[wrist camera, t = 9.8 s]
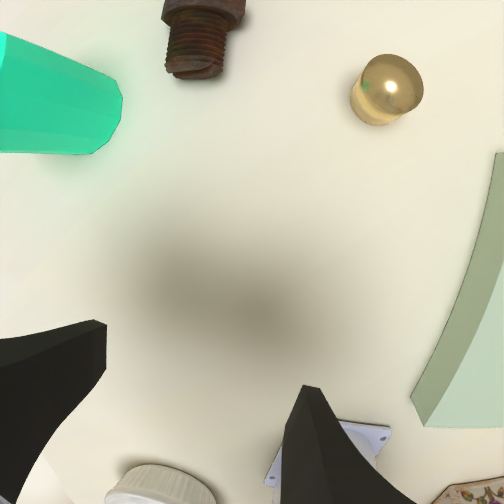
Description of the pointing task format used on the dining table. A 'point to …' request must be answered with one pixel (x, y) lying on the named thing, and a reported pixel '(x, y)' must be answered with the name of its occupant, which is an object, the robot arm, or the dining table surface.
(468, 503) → the decorative jar
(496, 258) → the collar plate
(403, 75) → the short pin
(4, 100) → the candle
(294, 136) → the dining table surface
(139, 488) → the ramekin
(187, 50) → the bolt
